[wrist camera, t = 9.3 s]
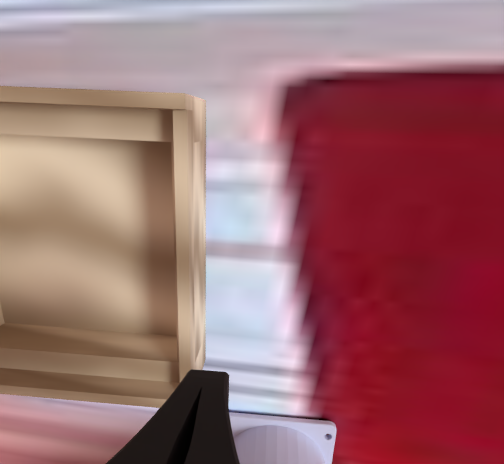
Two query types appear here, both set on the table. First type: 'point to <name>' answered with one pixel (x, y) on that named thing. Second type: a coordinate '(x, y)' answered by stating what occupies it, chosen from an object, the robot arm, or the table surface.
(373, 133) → the table surface
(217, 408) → the robot arm
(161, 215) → the birch box
